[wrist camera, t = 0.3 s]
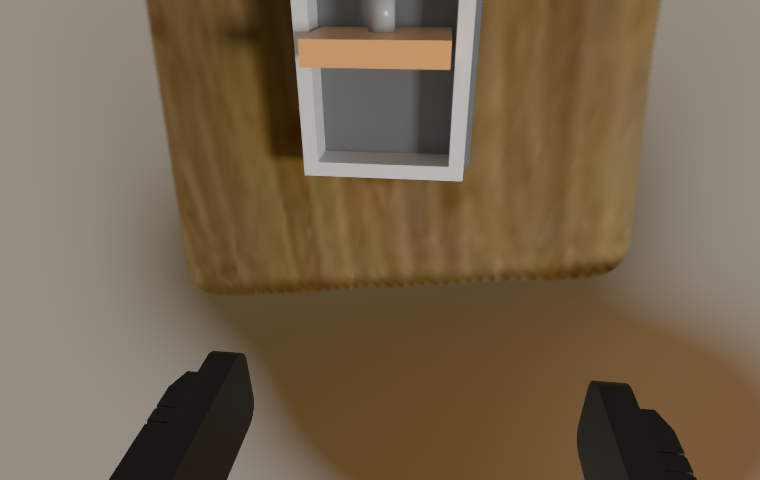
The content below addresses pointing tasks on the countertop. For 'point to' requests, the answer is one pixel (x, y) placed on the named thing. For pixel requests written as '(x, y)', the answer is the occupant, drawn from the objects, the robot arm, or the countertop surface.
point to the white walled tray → (389, 98)
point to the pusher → (377, 44)
